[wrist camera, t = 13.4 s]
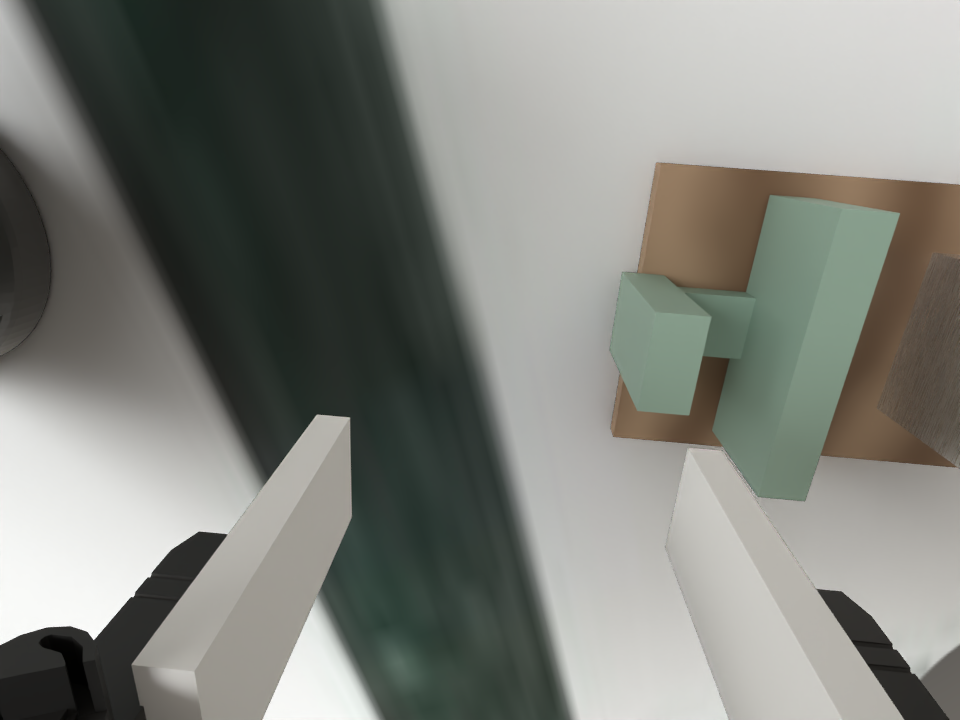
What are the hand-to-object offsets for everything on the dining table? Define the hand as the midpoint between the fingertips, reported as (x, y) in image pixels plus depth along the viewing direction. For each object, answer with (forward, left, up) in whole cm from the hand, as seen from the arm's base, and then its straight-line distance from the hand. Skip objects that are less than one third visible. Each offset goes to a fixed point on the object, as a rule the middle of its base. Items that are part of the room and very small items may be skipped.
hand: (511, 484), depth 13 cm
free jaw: (+9, 0, -16) cm, 18 cm away
